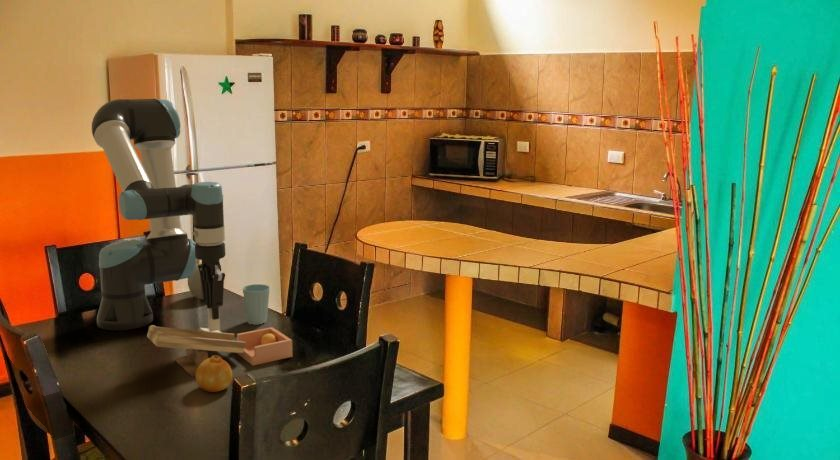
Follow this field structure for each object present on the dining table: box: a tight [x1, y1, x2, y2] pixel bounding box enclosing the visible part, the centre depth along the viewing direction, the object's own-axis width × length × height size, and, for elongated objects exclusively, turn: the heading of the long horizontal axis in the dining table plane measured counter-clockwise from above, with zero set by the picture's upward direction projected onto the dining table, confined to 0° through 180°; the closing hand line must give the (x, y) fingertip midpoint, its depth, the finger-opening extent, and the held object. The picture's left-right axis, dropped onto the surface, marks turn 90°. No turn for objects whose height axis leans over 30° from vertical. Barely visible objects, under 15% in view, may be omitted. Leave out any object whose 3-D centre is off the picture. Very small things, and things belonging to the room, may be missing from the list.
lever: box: [146, 324, 246, 354], centre depth 187 cm, size 17×22×3 cm
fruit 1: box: [187, 262, 203, 300], centre depth 238 cm, size 10×12×15 cm
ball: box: [261, 334, 277, 345], centre depth 195 cm, size 4×4×4 cm
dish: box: [235, 326, 293, 367], centre depth 192 cm, size 12×11×4 cm
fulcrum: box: [175, 349, 210, 377], centre depth 184 cm, size 12×7×5 cm, turn 36°
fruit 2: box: [194, 354, 233, 393], centre depth 170 cm, size 8×8×8 cm
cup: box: [242, 283, 271, 326], centre depth 216 cm, size 8×8×10 cm
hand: (214, 329), depth 195 cm, fingers closed
